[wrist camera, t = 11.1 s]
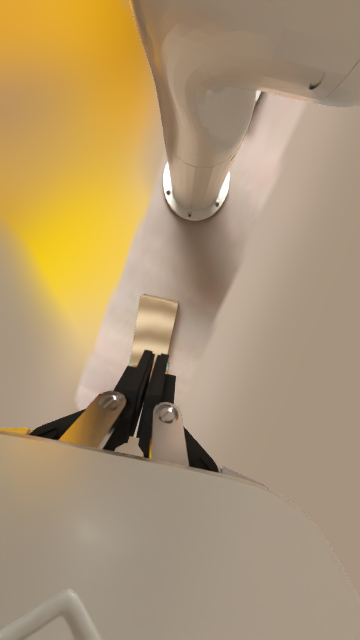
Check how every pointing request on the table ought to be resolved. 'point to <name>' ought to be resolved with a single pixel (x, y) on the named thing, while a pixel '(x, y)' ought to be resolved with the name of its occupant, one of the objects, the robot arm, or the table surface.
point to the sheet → (153, 326)
